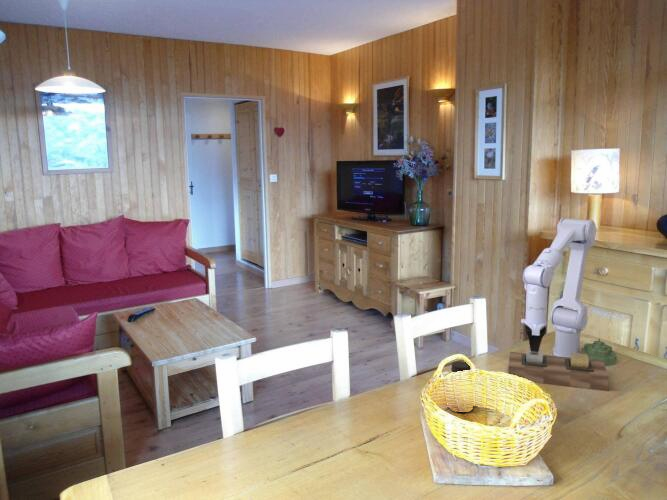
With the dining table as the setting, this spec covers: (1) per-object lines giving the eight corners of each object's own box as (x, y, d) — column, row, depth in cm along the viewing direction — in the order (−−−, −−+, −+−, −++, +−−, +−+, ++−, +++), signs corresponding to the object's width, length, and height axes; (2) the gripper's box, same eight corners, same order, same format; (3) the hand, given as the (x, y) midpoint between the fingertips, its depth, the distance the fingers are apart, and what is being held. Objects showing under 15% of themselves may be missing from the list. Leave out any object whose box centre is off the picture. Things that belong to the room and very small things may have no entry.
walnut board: (509, 363, 163) (509, 350, 163) (602, 373, 154) (603, 359, 154) (507, 379, 152) (508, 365, 152) (607, 391, 143) (608, 375, 143)
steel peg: (525, 361, 158) (526, 348, 157) (541, 363, 156) (542, 349, 155) (525, 367, 154) (526, 353, 153) (542, 369, 152) (542, 355, 151)
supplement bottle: (476, 413, 133) (477, 369, 131) (449, 414, 134) (450, 370, 131) (470, 401, 140) (471, 358, 138) (444, 401, 140) (445, 359, 138)
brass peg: (569, 366, 154) (570, 352, 153) (586, 367, 152) (587, 354, 151) (570, 372, 149) (571, 358, 149) (587, 374, 148) (588, 359, 147)
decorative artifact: (590, 351, 171) (574, 359, 165) (591, 331, 170) (575, 338, 164) (621, 360, 164) (606, 369, 158) (623, 339, 162) (607, 347, 156)
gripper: (522, 298, 160) (520, 341, 162) (521, 312, 146) (519, 358, 149) (546, 300, 157) (545, 343, 160) (548, 314, 144) (546, 361, 146)
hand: (534, 350), depth 154 cm, fingers closed
